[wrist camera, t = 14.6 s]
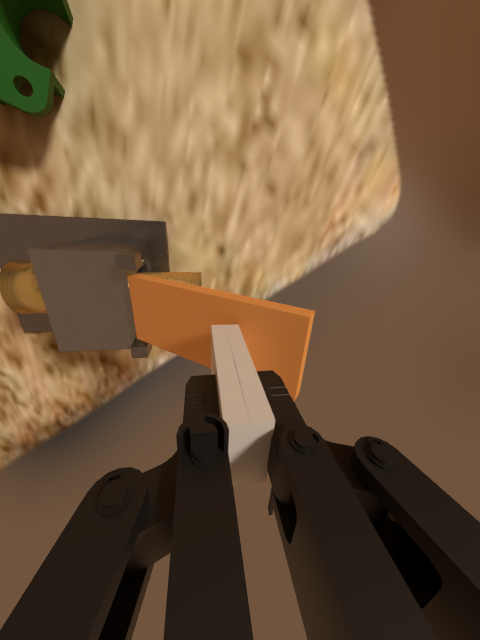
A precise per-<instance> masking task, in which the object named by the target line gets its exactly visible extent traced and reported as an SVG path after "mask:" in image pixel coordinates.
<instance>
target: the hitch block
mask: <svg viewBox="0 0 480 640" xmlns="http://www.w3.org/2000/svg"><path fill="white" fill-rule="evenodd" d="M12 260H31V263H32V266H33V269H34V273H35V276H36V279H37V282H38V285H39V288H40V292H41V295H42V298H43V301H44V304H45V307H46V311H47V313H34V314H22V313H18V316H19V319H20V321H21V324H22V327H23V329H24V332H39V331H53V333H54V336H55V339H56V342H57V346H58V349H59V352H68V351H92V350H115V349H131V354H132V358H147V357H148V356H149V354H150V351H151V348H152V344H149V343H147V342H145V341H142V340H140V339H137V335H136V328H135V322H134V315H133V308H132V302H131V295H130V289H129V282H128V276H129V275H134V274H138V273H137V272H170V266H169V253H168V240H167V227H166V222H163V221H142V220H122V219H101V218H81V217H60V216H40V215H20V214H0V268H1V270H2V268H3V266H4V265H5V264H6V263H7V262H9V261H12Z"/></svg>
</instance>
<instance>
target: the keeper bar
mask: <svg viewBox="0 0 480 640" xmlns="http://www.w3.org/2000/svg"><path fill="white" fill-rule="evenodd" d="M128 282H129V289H130V295H131V302H132V308H133V315H134V322H135V328H136V335H137V339H140V340H142V341H145V342H147V343H149V344H152V345H154V346H157V347H159V348H162V349H164V350H167V351H169V352H172V353H174V354H177V355H179V356H182V357H184V358H187V359H189V360H192V361H194V362H197V363H199V364H202V365H204V366H207V367H209V368H211V325H234V324H238V325H239V328H240V330H241V333H242V335H243V338H244V340H245V343H246V346H247V348H248V351H249V353H250V356H251V358H252V361H253V364H254V366H255V369H256V371H269V370H273V371H274V372H275V373H276V374H277V375H279V376H280V377H281V379H282V380H283V382H284V384H285V387H286V388H287V390H288V392H289V395H290V396H291V397H292V399H293V401H294V402H295V399H296V397H297V395H298V393H299V391H300V386H301V381H302V376H303V371H304V365H305V360H306V355H307V350H308V345H309V339H310V334H311V329H312V324H313V318H314V313H315V311H312V310H308V309H303V308H298V307H294V306H289V305H284V304H280V303H275V302H270V301H266V300H261V299H256V298H252V297H247V296H242V295H238V294H233V293H228V292H224V291H219V290H214V289H210V288H205V287H200V286H196V285H191V284H186V283H182V282H177V281H172V280H168V279H163V278H158V277H154V276H149V275H144V274H134V275H129V276H128Z"/></svg>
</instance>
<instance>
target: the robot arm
mask: <svg viewBox="0 0 480 640" xmlns="http://www.w3.org/2000/svg"><path fill="white" fill-rule="evenodd" d="M211 371H212V375H200V376H191V378H190V380H189V381H188V382H187V384H186V389H185V403H184V404H185V405H184V416H183V423H182V424H181V425H180V427H179V429H178V432H177V451H176V453H175V454H174V455H173V456H172V457H171V458H170V459H169V460H168V461H166V462H165V463H163V464H161V465H159V466H157V467H155V468H153V469H150V470H148V471H146V472H144V473H141V472H140V470H137V469H134V468H131V467H127V468H119V469H116V470H114V471H112V472H109V473H107V474H106V475H104V476H103V477H102V478H101V479H99V480H98V481H97V482H96V483H95V484H94V485H93V487H92V488H91V489H90V490H89V491H88V492H87V494H86V495H85V497H84V498H83V500H82V502H81V503H80V505H79V506H78V508H77V510H76V511H75V513H74V514H73V516H72V517H71V519H70V521H69V523H68V524H67V525H66V527H65V529H64V530H63V532H62V533H61V535H60V537H59V538H58V540H57V541H56V543H55V545H54V546H53V548H52V549H51V551H50V552H49V554H48V556H47V557H46V559H45V560H44V562H43V563H42V565H41V567H40V568H39V570H38V571H37V573H36V575H35V576H34V578H33V580H32V581H31V583H30V584H29V586H28V587H27V589H26V590H25V592H24V594H23V595H22V597H21V598H20V600H19V602H18V603H17V605H16V606H15V608H14V610H13V611H12V613H11V614H10V616H9V618H8V619H7V621H6V622H5V624H4V625H3V627H2V629H1V630H0V640H131V638H132V635H133V632H134V628H135V625H136V622H137V618H138V615H139V612H140V609H141V605H142V602H143V599H144V595H145V592H146V589H147V585H148V582H149V579H150V576H151V572H152V569H153V565H154V563H155V562H157V561H158V560H160V559H161V558H163V557H164V556H166V555H168V554H169V553H171V554H170V567H169V580H168V593H167V604H166V605H167V606H166V617H165V629H164V640H253V634H252V627H251V619H250V611H249V604H248V597H247V590H246V581H245V575H244V566H243V559H242V552H241V545H240V536H239V529H238V522H237V514H236V507H235V499H234V491H233V486H234V485H240V484H248V483H254V482H261V481H266V478H267V472H268V473H269V477H270V481H271V484H272V488H271V494H270V500H269V505H268V510H269V515H272V513H273V509H274V513H275V516H276V520H277V524H278V528H279V532H280V536H281V539H282V543H283V547H284V551H285V555H286V559H287V562H288V567H289V570H290V574H291V578H292V582H293V585H294V590H295V593H296V597H297V601H298V605H299V608H300V613H301V616H302V620H303V624H304V628H305V631H306V635H307V639H308V640H480V522H479V521H478V520H476V519H475V518H474V517H473V516H472V515H471V514H470V513H468V512H467V511H466V510H465V509H464V508H463V507H462V506H461V505H459V504H458V503H457V502H456V501H455V500H454V499H452V498H451V497H450V496H449V495H448V494H447V493H446V492H445V491H443V490H442V489H441V488H440V487H439V486H438V485H437V484H436V483H434V482H433V481H432V480H431V479H430V478H429V477H428V476H427V475H425V474H424V473H423V472H422V471H421V470H420V469H419V468H417V467H416V466H415V465H414V464H413V463H412V462H411V461H410V460H408V459H407V458H406V457H405V456H404V455H403V454H401V453H400V452H399V451H398V450H397V449H396V448H394V447H393V446H392V445H390V444H389V443H387V442H385V441H383V440H381V439H378V438H375V437H370V436H367V437H361V438H360V439H359V440H357V441H356V443H355V446H354V447H353V446H347V445H342V444H337V443H332V442H329V441H326V440H324V439H323V438H322V437H321V435H320V434H319V433H318V432H317V431H315V430H314V429H312V428H311V427H308V426H307V425H306V424H305V422H304V420H303V418H302V416H301V415H300V413H299V411H298V409H297V407H296V405H295V403H294V401H293V399H292V397H291V396H290V395H289V392H288V390H287V388H286V387H285V384H284V382H283V380H282V379H281V377H280V376H279V375H277V374H276V373H275V372H274V371H273V370H269V371H256V369H255V366H254V364H253V361H252V358H251V356H250V353H249V351H248V348H247V346H246V343H245V340H244V338H243V335H242V333H241V330H240V328H239V325H238V324H234V325H211Z"/></svg>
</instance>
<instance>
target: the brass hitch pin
mask: <svg viewBox="0 0 480 640" xmlns="http://www.w3.org/2000/svg"><path fill="white" fill-rule="evenodd" d="M137 273H138V274H144V275H149V276H154V277H158V278H163V279H168V280H172V281H177V282H182V283H186V284H191V285H196V286H200V287H201V272H137ZM0 292H1V295H2V298H3V300H4V301H5V303H6V304H7V305H8V306H9V307H10V308H11V309H12V310H13V311H15V312H17V313H22V314H34V313H47V311H46V307H45V304H44V301H43V298H42V295H41V292H40V288H39V285H38V282H37V279H36V276H35V273H34V269H33V266H32V263H31V260H12V261H9V262H7V263H6V264H5V265H4V266H3V268H2V270H1V272H0Z"/></svg>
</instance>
